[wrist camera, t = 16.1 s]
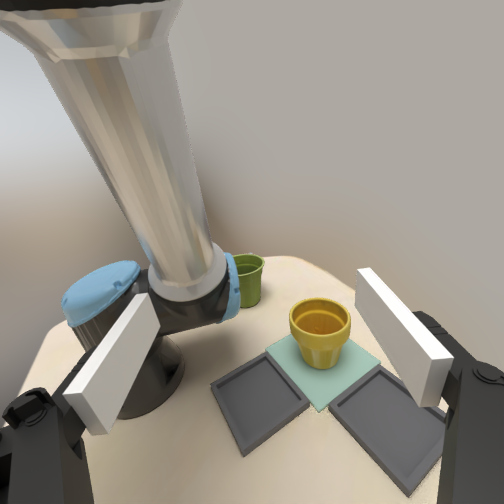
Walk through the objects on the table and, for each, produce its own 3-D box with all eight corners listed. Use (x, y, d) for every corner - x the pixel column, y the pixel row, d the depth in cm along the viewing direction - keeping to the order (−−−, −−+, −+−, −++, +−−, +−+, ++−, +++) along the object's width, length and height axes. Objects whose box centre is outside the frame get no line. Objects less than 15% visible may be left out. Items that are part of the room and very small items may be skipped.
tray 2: (328, 409, 37) (328, 403, 36) (377, 369, 42) (378, 363, 41) (408, 497, 27) (410, 491, 27) (460, 432, 32) (462, 425, 32)
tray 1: (211, 389, 43) (210, 384, 42) (267, 356, 48) (266, 351, 47) (243, 457, 33) (242, 451, 32) (309, 406, 38) (309, 400, 37)
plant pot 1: (277, 299, 64) (274, 262, 59) (240, 321, 58) (233, 281, 53) (252, 282, 73) (247, 249, 68) (218, 299, 67) (210, 264, 62)
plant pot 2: (296, 331, 52) (294, 294, 48) (347, 338, 48) (350, 299, 44) (287, 372, 43) (283, 331, 39) (349, 384, 40) (352, 341, 36)
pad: (265, 350, 49) (265, 348, 49) (319, 318, 55) (319, 317, 55) (318, 412, 37) (318, 410, 37) (380, 363, 43) (380, 361, 43)
